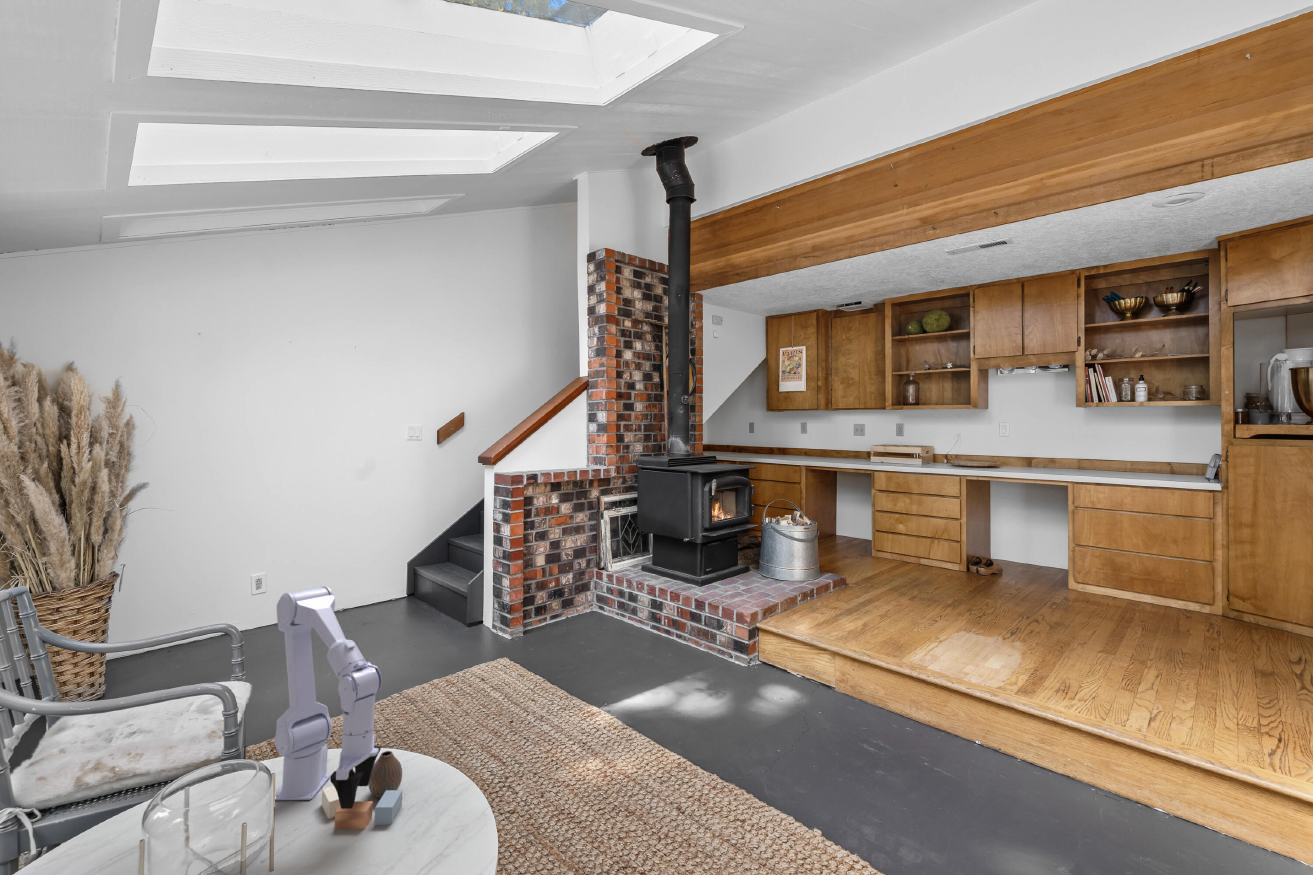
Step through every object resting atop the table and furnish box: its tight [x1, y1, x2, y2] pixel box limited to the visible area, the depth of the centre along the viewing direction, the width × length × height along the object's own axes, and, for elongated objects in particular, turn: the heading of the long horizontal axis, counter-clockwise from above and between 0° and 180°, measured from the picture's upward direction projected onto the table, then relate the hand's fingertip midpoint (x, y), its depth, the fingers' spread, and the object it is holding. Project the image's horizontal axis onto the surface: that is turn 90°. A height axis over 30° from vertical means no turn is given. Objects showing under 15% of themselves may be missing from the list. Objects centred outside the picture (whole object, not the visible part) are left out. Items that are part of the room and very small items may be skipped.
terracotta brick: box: [333, 800, 374, 830], centre depth 120 cm, size 6×3×4 cm, turn 95°
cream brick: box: [321, 784, 340, 820], centre depth 124 cm, size 6×3×4 cm, turn 42°
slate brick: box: [374, 789, 403, 826], centre depth 123 cm, size 6×3×4 cm, turn 5°
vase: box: [367, 750, 403, 799], centre depth 130 cm, size 7×7×9 cm
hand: (355, 796), depth 120 cm, fingers open, 7 cm apart
